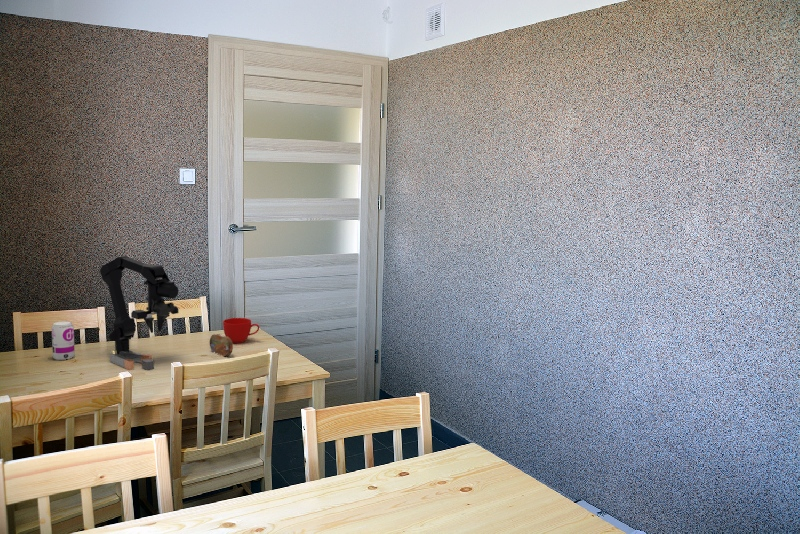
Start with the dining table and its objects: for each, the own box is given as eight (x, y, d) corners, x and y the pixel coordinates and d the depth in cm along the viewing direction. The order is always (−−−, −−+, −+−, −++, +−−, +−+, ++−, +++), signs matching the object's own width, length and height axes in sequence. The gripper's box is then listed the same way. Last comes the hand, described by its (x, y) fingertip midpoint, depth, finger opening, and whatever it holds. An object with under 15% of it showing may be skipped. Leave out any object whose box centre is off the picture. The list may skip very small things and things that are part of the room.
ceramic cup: (256, 345, 313) (256, 324, 312) (219, 344, 313) (219, 323, 312) (262, 338, 326) (262, 318, 325) (227, 337, 326) (227, 317, 325)
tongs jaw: (119, 360, 283) (119, 352, 282) (122, 359, 285) (121, 351, 284) (149, 363, 279) (149, 355, 279) (152, 362, 281) (151, 354, 280)
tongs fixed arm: (107, 360, 282) (107, 351, 282) (115, 359, 285) (114, 349, 284) (129, 370, 271) (129, 360, 270) (137, 368, 273) (137, 358, 273)
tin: (209, 351, 302) (208, 332, 301) (215, 349, 304) (215, 331, 303) (227, 358, 292) (227, 339, 291) (234, 357, 294) (234, 338, 293)
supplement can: (79, 357, 286) (77, 322, 284) (62, 361, 279) (60, 326, 276) (65, 354, 289) (64, 320, 287) (48, 358, 282) (47, 323, 280)
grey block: (142, 367, 274) (141, 360, 273) (148, 366, 276) (148, 358, 276) (147, 370, 271) (147, 362, 271) (154, 368, 274) (153, 360, 273)
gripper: (144, 301, 270) (145, 339, 272) (185, 295, 284) (186, 331, 286) (130, 297, 277) (130, 334, 279) (171, 292, 291) (171, 327, 293)
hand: (155, 332), depth 284 cm, fingers open, 3 cm apart
